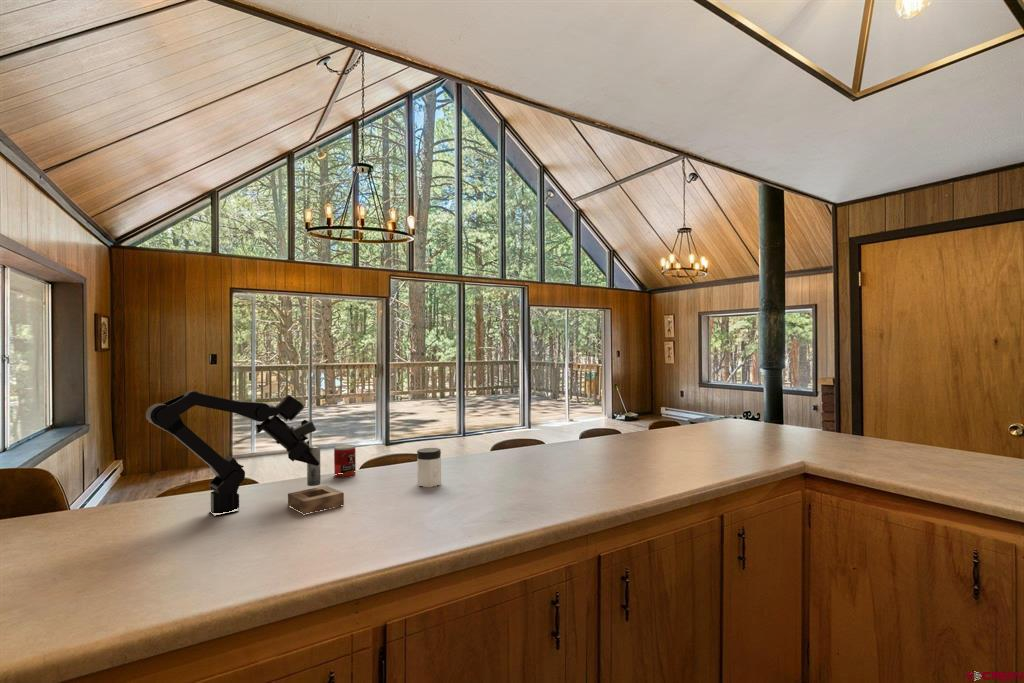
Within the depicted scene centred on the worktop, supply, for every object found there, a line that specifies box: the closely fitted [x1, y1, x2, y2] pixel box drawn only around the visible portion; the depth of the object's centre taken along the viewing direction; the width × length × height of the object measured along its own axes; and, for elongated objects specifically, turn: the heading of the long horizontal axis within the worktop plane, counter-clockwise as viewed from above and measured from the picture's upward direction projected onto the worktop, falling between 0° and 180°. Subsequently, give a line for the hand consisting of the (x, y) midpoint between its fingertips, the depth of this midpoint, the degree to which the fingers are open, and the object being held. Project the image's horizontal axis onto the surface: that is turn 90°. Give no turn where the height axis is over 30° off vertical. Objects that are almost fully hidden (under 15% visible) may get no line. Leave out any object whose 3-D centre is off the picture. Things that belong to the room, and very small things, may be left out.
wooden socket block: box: [287, 485, 345, 514], centre depth 151 cm, size 12×12×4 cm
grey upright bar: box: [306, 445, 321, 487], centre depth 161 cm, size 4×4×12 cm
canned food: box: [333, 444, 357, 479], centre depth 189 cm, size 8×8×11 cm
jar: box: [416, 447, 442, 488], centre depth 174 cm, size 9×8×12 cm
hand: (318, 463), depth 162 cm, fingers closed on grey upright bar, 4 cm apart
